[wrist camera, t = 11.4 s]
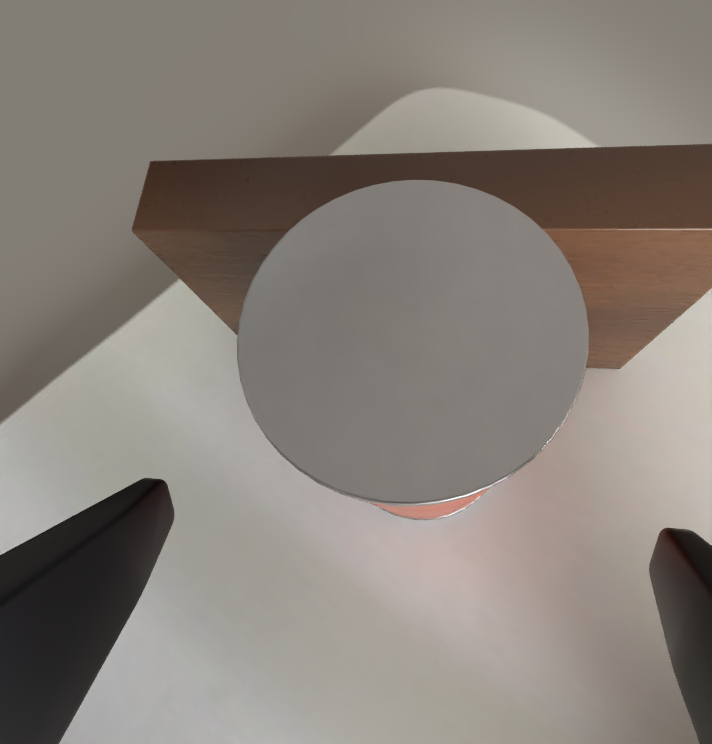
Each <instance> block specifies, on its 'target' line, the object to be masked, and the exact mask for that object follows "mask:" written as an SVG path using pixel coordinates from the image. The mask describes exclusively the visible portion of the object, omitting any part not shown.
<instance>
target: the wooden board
mask: <svg viewBox="0 0 712 744" xmlns="http://www.w3.org/2000/svg"><path fill="white" fill-rule="evenodd" d="M405 180H434V181H442V182H448V183H455V184H459V185H463V186H467V187H471V188H474V189H477V190H480V191H483V192H485V193H488V194H490V195H493V196H495V197H497V198H499V199H501V200H503V201H505V202H506V203H508V204H510V205H512V206H514V207H515V208H517V209H518V210H520V211H521V212H522V213H524V214H525V215H527V216H528V217H529V218H531V219H532V220H533V221H534V222H535V223H536V224H537V225H538V226H539V227H541V228H542V229H543V230H544V231H545V232H546V233H547V234H548V235H549V237H550V238H551V239H552V240H553V241H554V243H555V244H556V245H557V246H558V247H559V249H560V250H561V252H562V253H563V255H564V256H565V258H566V260H567V261H568V263H569V264H570V266H571V268H572V270H573V272H574V275H575V277H576V279H577V281H578V284H579V286H580V288H581V292H582V296H583V299H584V303H585V307H586V311H587V320H588V328H589V346H588V359H587V364H586V368H609V369H620V368H621V367H622V366H624V365H625V364H626V363H627V362H628V361H629V360H630V359H632V358H633V357H634V356H635V355H636V354H637V353H638V352H640V351H641V350H642V349H643V348H644V347H645V346H646V345H647V344H649V343H650V342H651V341H652V340H653V339H654V338H655V337H657V336H658V335H659V334H660V333H661V332H662V331H663V330H665V329H666V328H667V327H668V326H669V325H670V324H671V323H673V322H674V321H675V320H676V319H677V318H678V317H679V316H681V315H682V314H683V313H684V312H685V311H686V310H687V309H689V308H690V307H691V306H692V305H693V304H694V303H695V302H696V301H698V300H699V299H700V298H701V297H702V296H703V295H704V294H706V293H707V292H708V291H709V290H710V289H711V288H712V144H693V145H663V146H662V145H661V146H629V147H595V148H563V149H530V150H497V151H465V152H432V153H399V154H367V155H334V156H303V157H269V158H236V159H205V160H204V159H203V160H171V161H151V162H150V164H149V168H148V171H147V175H146V179H145V183H144V186H143V190H142V194H141V197H140V201H139V205H138V209H137V212H136V216H135V219H134V223H133V227H132V232H133V233H134V234H136V236H137V237H138V238H139V239H140V240H142V241H143V242H144V243H145V245H146V246H148V247H149V248H150V249H151V250H152V251H153V252H154V253H155V254H156V255H157V256H158V257H159V258H160V259H161V260H162V261H163V262H164V263H165V264H166V265H167V266H168V267H169V268H170V269H171V270H172V271H173V272H174V273H175V274H176V275H177V276H178V277H179V278H180V279H181V280H182V281H183V282H184V283H185V284H186V285H187V286H188V287H189V288H190V289H191V290H192V291H193V292H194V293H195V294H196V295H197V296H198V297H199V298H200V299H201V300H202V301H203V302H204V303H205V304H206V305H207V306H208V307H209V308H210V309H211V310H212V311H213V312H214V313H215V314H216V315H217V316H218V317H219V318H220V319H221V320H222V321H223V322H224V323H225V324H226V325H227V326H228V327H229V328H230V329H231V330H233V331H234V332H235V333H236V334H237V335H238V328H239V319H240V316H241V312H242V308H243V304H244V300H245V297H246V295H247V292H248V290H249V287H250V285H251V282H252V280H253V278H254V277H255V275H256V273H257V271H258V269H259V267H260V266H261V264H262V262H263V261H264V260H265V258H266V257H267V255H268V254H269V253H270V251H271V250H272V248H273V247H274V246H275V245H276V244H277V243H278V242H279V241H280V239H281V238H282V237H283V236H284V235H285V234H286V233H287V232H288V231H289V230H290V229H291V228H293V227H294V226H295V225H296V224H297V223H298V222H299V221H301V220H302V219H303V218H305V217H306V216H308V215H309V214H310V213H312V212H313V211H315V210H316V209H317V208H319V207H321V206H323V205H325V204H327V203H328V202H330V201H332V200H334V199H336V198H338V197H341V196H343V195H345V194H348V193H350V192H353V191H355V190H359V189H362V188H365V187H369V186H372V185H377V184H382V183H388V182H393V181H405Z"/></svg>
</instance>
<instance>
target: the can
mask: <svg viewBox="0 0 712 744" xmlns="http://www.w3.org/2000/svg"><path fill="white" fill-rule="evenodd" d="M588 346H589V328H588V320H587V311H586V307H585V303H584V299H583V296H582V292H581V288H580V286H579V284H578V281H577V279H576V277H575V275H574V272H573V270H572V268H571V266H570V264H569V263H568V261H567V260H566V258H565V256H564V255H563V253H562V252H561V250H560V249H559V247H558V246H557V245H556V244H555V243H554V241H553V240H552V239H551V238H550V237H549V235H548V234H547V233H546V232H545V231H544V230H543V229H542V228H541V227H539V226H538V225H537V224H536V223H535V222H534V221H533V220H532V219H531V218H529V217H528V216H527V215H525V214H524V213H522V212H521V211H520V210H518V209H517V208H515V207H514V206H512V205H510V204H508V203H506V202H505V201H503V200H501V199H499V198H497V197H495V196H493V195H490V194H488V193H485V192H483V191H480V190H477V189H474V188H471V187H467V186H463V185H459V184H455V183H448V182H442V181H434V180H405V181H393V182H388V183H382V184H377V185H372V186H369V187H365V188H362V189H359V190H355V191H353V192H350V193H348V194H345V195H343V196H341V197H338V198H336V199H334V200H332V201H330V202H328V203H327V204H325V205H323V206H321V207H319V208H317V209H316V210H315V211H313V212H312V213H310V214H309V215H308V216H306V217H305V218H303V219H302V220H301V221H299V222H298V223H297V224H296V225H295V226H294V227H293V228H291V229H290V230H289V231H288V232H287V233H286V234H285V235H284V236H283V237H282V238H281V239H280V241H279V242H278V243H277V244H276V245H275V246H274V247H273V248H272V250H271V251H270V253H269V254H268V255H267V257H266V258H265V260H264V261H263V262H262V264H261V266H260V267H259V269H258V271H257V273H256V275H255V277H254V278H253V280H252V282H251V285H250V287H249V290H248V292H247V295H246V297H245V300H244V304H243V308H242V312H241V316H240V319H239V328H238V336H237V361H238V368H239V374H240V381H241V384H242V388H243V391H244V394H245V398H246V401H247V403H248V405H249V408H250V410H251V412H252V414H253V416H254V418H255V421H256V422H257V424H258V425H259V427H260V428H261V430H262V431H263V433H264V435H265V436H266V438H267V439H268V440H269V441H270V442H271V444H272V445H273V446H274V447H275V448H276V449H277V451H278V452H279V453H280V454H281V455H282V456H283V457H284V458H285V459H286V460H287V461H289V462H290V463H291V464H292V465H293V466H294V467H295V468H297V469H298V470H299V471H300V472H302V473H304V474H305V475H307V476H308V477H310V478H311V479H313V480H314V481H316V482H317V483H319V484H321V485H323V486H325V487H327V488H330V489H332V490H334V491H336V492H338V493H340V494H343V495H345V496H349V497H352V498H355V499H358V500H361V501H365V502H369V503H371V504H373V505H376V506H378V507H380V508H381V509H383V510H385V511H387V512H389V513H391V514H394V515H397V516H400V517H403V518H408V519H413V520H434V519H440V518H444V517H448V516H451V515H453V514H456V513H458V512H460V511H462V510H464V509H465V508H467V507H469V506H470V505H471V504H473V503H474V502H475V501H477V500H478V499H479V498H480V497H481V496H482V495H483V494H484V493H485V492H486V491H487V490H489V489H490V488H491V487H493V486H494V485H496V484H498V483H500V482H502V481H503V480H505V479H507V478H509V477H510V476H512V475H513V474H514V473H516V472H517V471H518V470H519V469H521V468H522V467H523V466H525V465H526V464H527V463H529V462H530V461H531V460H532V459H534V458H535V456H536V455H537V454H538V453H539V452H540V451H541V450H542V449H543V448H544V447H545V446H546V445H547V444H548V443H549V442H550V441H551V440H552V438H553V437H554V436H555V434H556V433H557V432H558V430H559V429H560V427H561V426H562V425H563V423H564V422H565V420H566V418H567V416H568V415H569V413H570V411H571V409H572V407H573V405H574V403H575V401H576V399H577V396H578V393H579V390H580V388H581V385H582V382H583V379H584V375H585V369H586V364H587V359H588Z"/></svg>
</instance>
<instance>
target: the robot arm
mask: <svg viewBox="0 0 712 744" xmlns="http://www.w3.org/2000/svg"><path fill="white" fill-rule="evenodd" d="M173 521H174V508H173V504H172V500H171V497H170V493H169V489H168V486H167V483H166V482H165V481H164V480H161V479H152V478H144V479H141V480H139V481H137V482H136V483H134V484H132V485H130V486H128V487H126V488H124V489H123V490H121V491H119V492H117V493H115V494H113V495H111V496H110V497H108V498H106V499H104V500H102V501H100V502H98V503H97V504H95V505H93V506H91V507H89V508H87V509H85V510H84V511H82V512H80V513H78V514H76V515H74V516H72V517H71V518H69V519H67V520H65V521H63V522H61V523H59V524H58V525H56V526H54V527H52V528H50V529H48V530H46V531H45V532H43V533H41V534H39V535H37V536H35V537H33V538H32V539H30V540H28V541H26V542H24V543H22V544H20V545H19V546H17V547H15V548H13V549H11V550H9V551H7V552H6V553H4V554H2V555H0V744H59V743H60V741H61V739H62V737H63V736H64V734H65V732H66V730H67V728H68V727H69V725H70V723H71V721H72V719H73V718H74V716H75V714H76V712H77V710H78V709H79V707H80V705H81V703H82V701H83V700H84V698H85V696H86V694H87V692H88V691H89V689H90V687H91V685H92V683H93V682H94V680H95V678H96V676H97V674H98V673H99V671H100V669H101V667H102V665H103V664H104V662H105V660H106V658H107V656H108V655H109V653H110V651H111V649H112V647H113V646H114V644H115V642H116V640H117V638H118V637H119V635H120V633H121V631H122V629H123V628H124V626H125V624H126V622H127V620H128V619H129V617H130V615H131V613H132V611H133V610H134V608H135V606H136V604H137V602H138V600H139V598H140V596H141V594H142V592H143V590H144V588H145V586H146V584H147V582H148V579H149V577H150V575H151V572H152V570H153V568H154V566H155V563H156V561H157V559H158V556H159V554H160V552H161V549H162V547H163V545H164V542H165V540H166V538H167V536H168V533H169V531H170V529H171V526H172V524H173ZM649 572H650V578H651V582H652V586H653V591H654V595H655V599H656V603H657V607H658V611H659V615H660V619H661V623H662V627H663V631H664V635H665V639H666V643H667V647H668V651H669V655H670V659H671V663H672V666H673V670H674V673H675V676H676V679H677V682H678V685H679V688H680V690H681V693H682V696H683V699H684V701H685V704H686V707H687V710H688V712H689V715H690V718H691V721H692V723H693V726H694V729H695V732H696V734H697V737H698V740H699V743H700V744H712V546H711V545H710V544H709V543H707V542H706V541H705V540H704V539H702V538H701V537H700V536H699V535H697V534H696V533H694V532H693V531H691V530H686V529H676V528H664V529H662V531H661V532H660V534H659V536H658V539H657V542H656V545H655V548H654V551H653V555H652V558H651V561H650V566H649Z"/></svg>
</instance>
